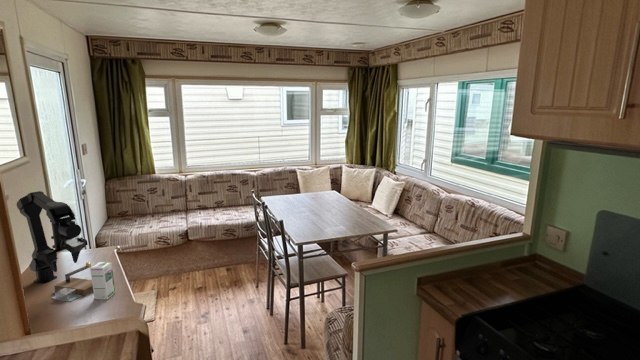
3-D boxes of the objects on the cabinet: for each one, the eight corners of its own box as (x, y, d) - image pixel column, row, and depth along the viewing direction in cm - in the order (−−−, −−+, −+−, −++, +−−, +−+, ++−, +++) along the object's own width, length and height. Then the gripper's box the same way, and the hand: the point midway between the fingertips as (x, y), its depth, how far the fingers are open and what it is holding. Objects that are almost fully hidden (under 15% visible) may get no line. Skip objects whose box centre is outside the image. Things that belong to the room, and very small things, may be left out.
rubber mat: (51, 298, 146) (51, 297, 146) (62, 293, 151) (62, 292, 151) (70, 301, 144) (70, 300, 144) (81, 295, 149) (81, 295, 149)
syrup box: (107, 299, 146) (103, 267, 143) (93, 299, 146) (89, 267, 143) (115, 293, 151) (112, 261, 149) (102, 292, 151) (98, 261, 149)
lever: (67, 282, 153) (66, 273, 152) (64, 282, 154) (63, 272, 153) (93, 271, 164) (91, 262, 163) (89, 271, 165) (88, 261, 164)
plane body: (55, 291, 152) (54, 285, 151) (71, 283, 160) (70, 277, 159) (85, 296, 148) (84, 289, 148) (100, 287, 156) (100, 281, 155)
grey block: (55, 298, 146) (54, 292, 145) (65, 293, 150) (64, 287, 150) (67, 300, 145) (66, 294, 144) (76, 294, 149) (76, 289, 148)
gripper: (55, 243, 137) (60, 279, 140) (95, 228, 155) (99, 260, 158) (33, 240, 140) (38, 275, 143) (75, 225, 158) (79, 257, 161)
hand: (65, 267), depth 151 cm, fingers open, 9 cm apart
